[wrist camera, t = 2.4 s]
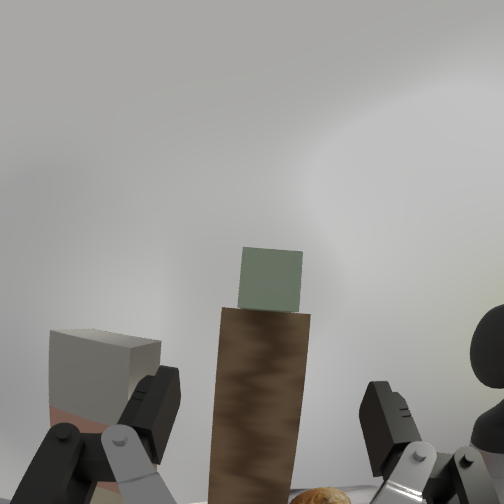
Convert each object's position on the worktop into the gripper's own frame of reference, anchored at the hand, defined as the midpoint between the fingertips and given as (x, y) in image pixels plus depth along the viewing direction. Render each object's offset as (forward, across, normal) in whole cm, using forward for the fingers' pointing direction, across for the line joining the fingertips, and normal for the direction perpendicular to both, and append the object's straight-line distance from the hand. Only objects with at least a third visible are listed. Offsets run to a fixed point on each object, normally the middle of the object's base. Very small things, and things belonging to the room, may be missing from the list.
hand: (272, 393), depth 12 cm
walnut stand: (+4, 0, +35) cm, 35 cm away
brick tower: (-2, +14, +32) cm, 35 cm away
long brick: (+18, 0, +6) cm, 19 cm away
